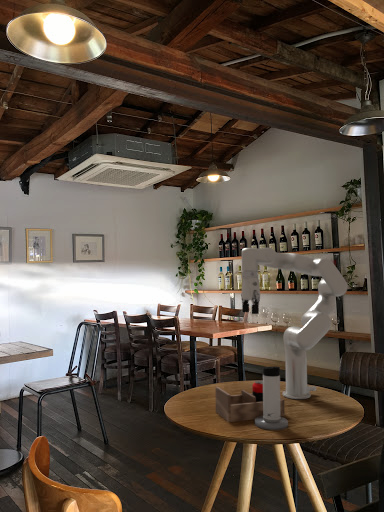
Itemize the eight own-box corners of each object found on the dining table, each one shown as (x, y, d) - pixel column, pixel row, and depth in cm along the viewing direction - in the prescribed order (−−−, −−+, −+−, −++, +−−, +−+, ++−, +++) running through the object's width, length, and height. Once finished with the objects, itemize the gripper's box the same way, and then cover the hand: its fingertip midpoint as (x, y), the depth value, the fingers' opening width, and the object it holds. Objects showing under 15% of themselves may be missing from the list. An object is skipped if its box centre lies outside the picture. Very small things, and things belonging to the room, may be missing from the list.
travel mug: (270, 424, 155) (270, 368, 156) (259, 419, 161) (259, 365, 162) (284, 421, 158) (283, 366, 159) (273, 416, 163) (272, 363, 164)
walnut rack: (268, 406, 182) (268, 382, 182) (284, 415, 170) (284, 389, 170) (215, 411, 174) (215, 386, 175) (228, 422, 162) (228, 395, 163)
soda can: (248, 412, 174) (248, 382, 174) (259, 408, 179) (259, 379, 180) (264, 416, 168) (264, 385, 169) (275, 412, 174) (274, 382, 175)
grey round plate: (277, 417, 167) (277, 413, 167) (294, 427, 156) (294, 423, 156) (249, 421, 163) (249, 417, 163) (264, 431, 152) (264, 427, 152)
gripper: (266, 275, 189) (266, 314, 188) (249, 275, 206) (249, 311, 205) (251, 275, 187) (251, 314, 186) (234, 275, 203) (234, 311, 202)
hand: (250, 313), depth 195 cm, fingers open, 9 cm apart
